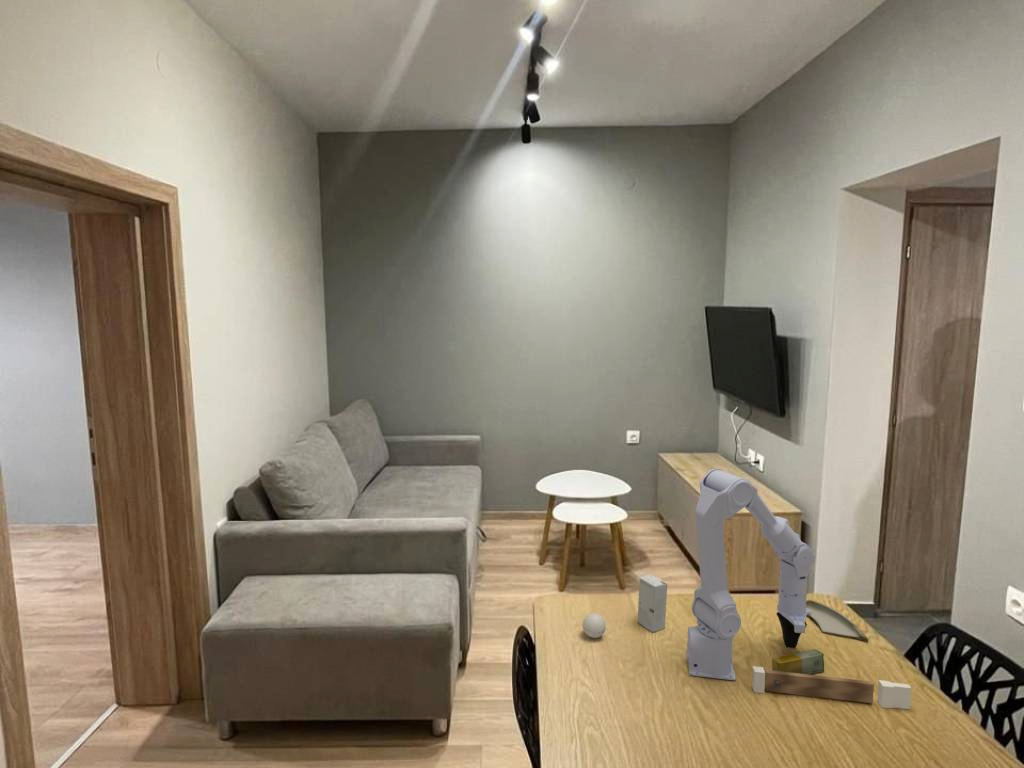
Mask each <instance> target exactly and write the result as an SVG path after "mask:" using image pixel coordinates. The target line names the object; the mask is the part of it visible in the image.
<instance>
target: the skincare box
mask: <svg viewBox="0 0 1024 768" xmlns="http://www.w3.org/2000/svg"><path fill="white" fill-rule="evenodd" d="M638 586H639V587H638V605H637V606H638V607H637V608H638V609H637V623H639V624H640V625H641V626H642V627H644V628H645V629H647V630H648V631H650V632H651V633H655V632H658V631H661V630H664V629H666V613H667V612H666V611H667V598H668V597H667V596H668V583H667V582H666V581H664V580H663V579H661V578H660V577H658V576H655V575H654V574H652V573H650V574H646V575H643V576H640V577H639V585H638Z"/></svg>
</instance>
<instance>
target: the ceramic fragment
mask: <svg viewBox="0 0 1024 768" xmlns="http://www.w3.org/2000/svg"><path fill="white" fill-rule="evenodd" d="M806 608H808V609H810V610H811V615H806V617H807V616H808V617H809V618H810V619H811V620H813V622H814V623H816V625H817V626H818V627H819V629H820V631H821V634H826V635H830V636H836V637H840V638H841V637H842V638H848V639H855V640H859V641H862V642H867V643H868V642H869V639H868V637H867V636H866V634H865V633H864V632H863V631H862V629H860V628H859V626H857V625H856V624H855V623H854V621H852V620H851V619H850V618H848V617H847V616H846V615H844V614H843V613H841V612H840V611H838V610H837V609H834V608H832V607H830V606H829V605H827V604H824V603H822V602H818V601H817V600H816V601H815V600H812V599H806Z"/></svg>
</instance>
